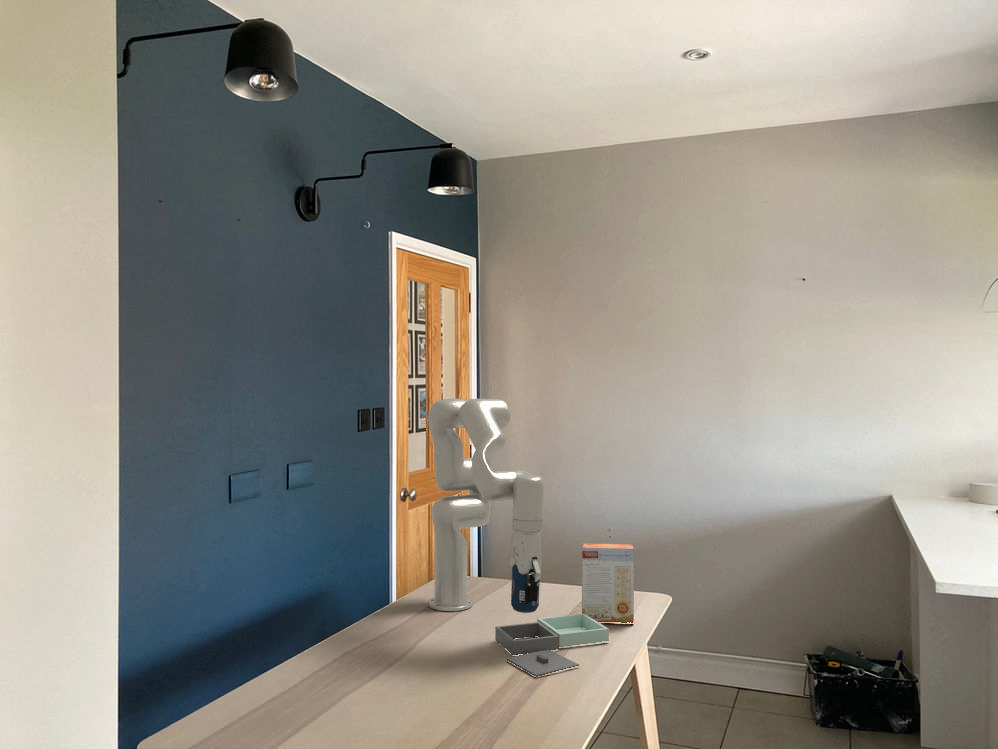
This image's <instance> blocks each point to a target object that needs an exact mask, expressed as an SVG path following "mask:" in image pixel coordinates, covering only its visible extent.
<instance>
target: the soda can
mask: <svg viewBox="0 0 998 749" xmlns="http://www.w3.org/2000/svg"><path fill="white" fill-rule="evenodd" d="M515 563H516V562H515ZM529 572H534V571H533V569H530V570H529ZM529 576H530V579H531V578H532V577H533V576H534V575H529ZM540 580H541V579H540ZM540 580H539V585H538V600H537V601H533V602H526V601H525V585H527V582H526V574H525V575H522V574H521V573H519V571H518V567H517V565H516V564H514V565H513V567H511V588H510V589H511V594H510V595H511V596H510V605H511V607H512V609H513V610H514V611H515V612H517V613H523V614H531V613H535V612H536V611H537V609H538V608H539V606H540V584H541V583H540Z"/></svg>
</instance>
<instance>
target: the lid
mask: <svg viewBox="0 0 998 749" xmlns="http://www.w3.org/2000/svg"><path fill="white" fill-rule="evenodd" d="M506 660H507V661H509V662H511V663H513V664H515V665H516V666H518V667H520V668H522V669H523V670H525V671H527V672H529V673H530V674H532V675H534V676H536V677H538V676H542V675H545V674H548V673H552V672H556V671H559V670H563V669H566V668H571V667H575V666H579V667H580V664H579V663H576V662H575V661H572V660H571V659H568V658H567V657H564V656H562V655H561V654H559V653H557V652H553V651H551V650H549V649H546V650H541V651H537V652H532V653H528V654H523V655H519V656H514V657H513V656H510V657H506ZM506 660H505V661H506Z"/></svg>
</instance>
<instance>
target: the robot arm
mask: <svg viewBox="0 0 998 749" xmlns="http://www.w3.org/2000/svg"><path fill="white" fill-rule="evenodd" d="M511 417H512V414H511V410H510V407H509V405H508V404H507V403H506V402H505V401H504V400H502V399H500V398H444V399H439V400H437V401H434V402H433V403H432V404H431V406H430V408H429V411H428V417H427V420H428V423H427V425H428V429H429V432H430V435H431V439H432V443H433V455H434V456H433V457H434V473H435V484H436V486H437V488H438V489H439V490H440V491H442V492H460V491H461V492H462V491H468V494H465V495H464V494H462V495H460V494H459V495H450V496H443V497H441V498H438V499H436V500H435V502H434V503H433V504H432V507H431V517H432V518H431V519H432V523H433V531H434V595H433V596H434V597H433V598H431V599H430V600H429V601H428V607H430V608H431V609H432V610H436V611H440V612H441V611H442V612H459V611H465V610H468V609H470V608H471V607H473V600H472V598H469V597H468V562H469V561H468V558H469V556H468V552H469V551H468V548H469V547H468V542H467V540H466V538H465V536H464V535H463V533H462V531H461V530H463V529H469V528H479V527H484V526H485V525H487V524H488V523H489V521H490V519H491V513H492V512H491V510H492V509H491V507H492V506H491V502H501V501H512V522H511V523H512V524H511V525H512V526H511V530H512V532H511V538H510V547H509V549H510V550H509V551H510V552H509V566H510V567H511V568H512V567H513V565H514V564H516V565H517V567H518V571H519V573H521V574H522V575H525V574H526V582H527V585H525V601H526V602H533V601H537V600H538V585H539V580H541V578H542V537H541V533H543V528H544V527H543V525H544V524H543V523H544V522H543V518H544V496H545V495H544V489H545V481H544V478H542V477H541V476H539V475H536V474H532V473H530V472H528V471H527V470H523V469H514V470H513V469H512V470H509V469H508V470H495V471H493V470H491V468H490V466H489V465H488V462H487V460H488V459H490V458H492V457H494V456H495V455H496V454H499V452H500V451H501V450H503V448H504V447H505V444H506V436H505V435H504V433H503V431H502V429H505V428H507V427H508V425H509V424H510V423H511V422H510V421H511ZM455 429H465V432H466V433H467V435H468V436H469V439H470V441H471V443H472V445H473V447H474V449H475V451H474V452H473V455H472V457H464V456H465V455H464V444H463V441H462V438H461V437H460V435H459V434H458V433H457V431H456V430H455ZM515 562H516V563H515ZM530 569H533V571H534V572H529V570H530ZM529 575H534V576H533V577H532V578H531V579H530V576H529ZM539 586H540V585H539Z"/></svg>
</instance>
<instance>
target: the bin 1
mask: <svg viewBox="0 0 998 749" xmlns="http://www.w3.org/2000/svg"><path fill="white" fill-rule="evenodd" d="M494 632H495V635H494V636H495V640H496V641H497V642H498V643H500V644H501V645H502V646H503V647H504V648H506V649H507V650H508V651H509V652H510V653H511V654H512V655H518V654H527V653H532V652H537V651H541V650H546V649H549V650H556V649H559V636H558V635H556V634H555V633H554V632H552V631H551V630H550V629H548V628H547V627H546V626H544V625H543V624H541V623H540V622H537V621H535V622H527V623H526V622H525V623H518V624H517V623H516V624H508V625H499V626H495V631H494ZM535 636H538V637H539V638H538V637H535ZM524 637H535V638H526V639H518V640H514V639H515V638H524ZM496 641H495V642H496ZM497 642H496V643H497ZM498 643H497V644H498ZM502 646H501V647H502ZM503 647H502V648H503ZM504 648H503V649H504ZM559 650H560V649H559Z"/></svg>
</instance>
